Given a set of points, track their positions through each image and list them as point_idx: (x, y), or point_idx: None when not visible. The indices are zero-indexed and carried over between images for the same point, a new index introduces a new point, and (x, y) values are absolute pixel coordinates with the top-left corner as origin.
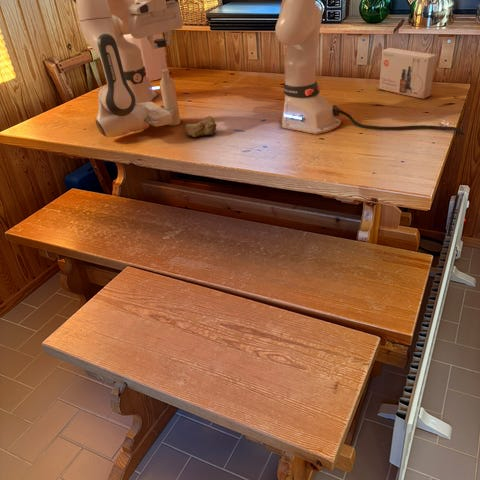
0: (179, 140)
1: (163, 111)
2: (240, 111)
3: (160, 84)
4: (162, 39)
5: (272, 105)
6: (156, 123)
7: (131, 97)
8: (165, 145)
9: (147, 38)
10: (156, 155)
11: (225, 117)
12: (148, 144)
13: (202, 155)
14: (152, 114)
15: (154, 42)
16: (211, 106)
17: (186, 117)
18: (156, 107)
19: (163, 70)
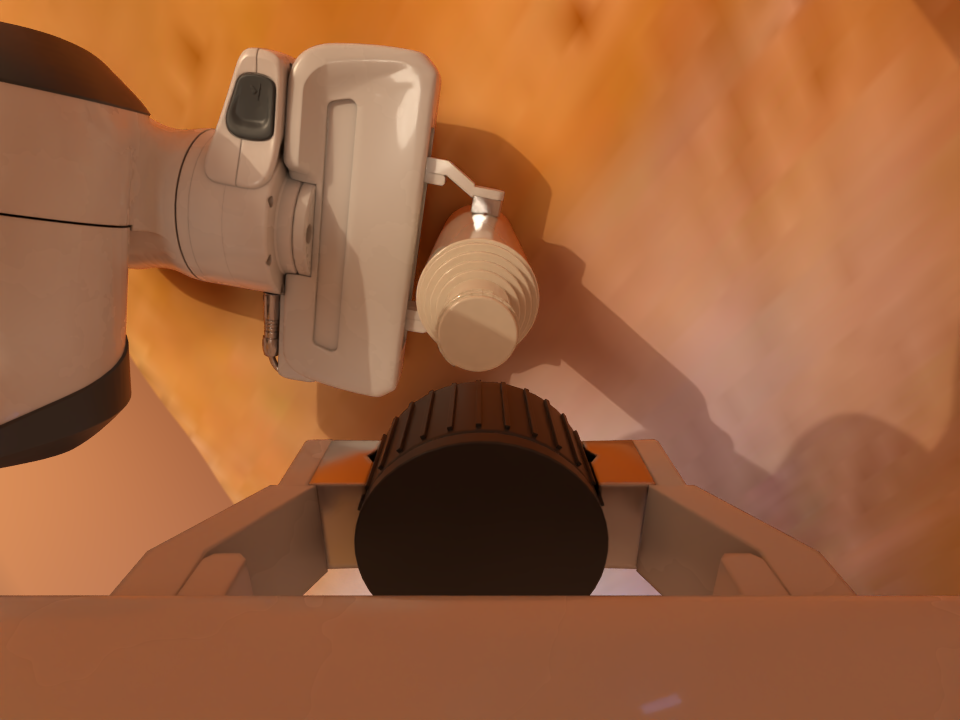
0: (371, 437)
1: (375, 333)
2: (778, 393)
3: (416, 291)
4: (532, 579)
5: (908, 454)
6: (294, 379)
7: (62, 452)
8: (300, 432)
9: (146, 579)
10: (228, 479)
11: (678, 394)
12: (248, 367)
13: (355, 591)
14: (303, 320)
15: (359, 506)
16: (783, 201)
17: (576, 226)
18: (384, 231)
19: (462, 334)
